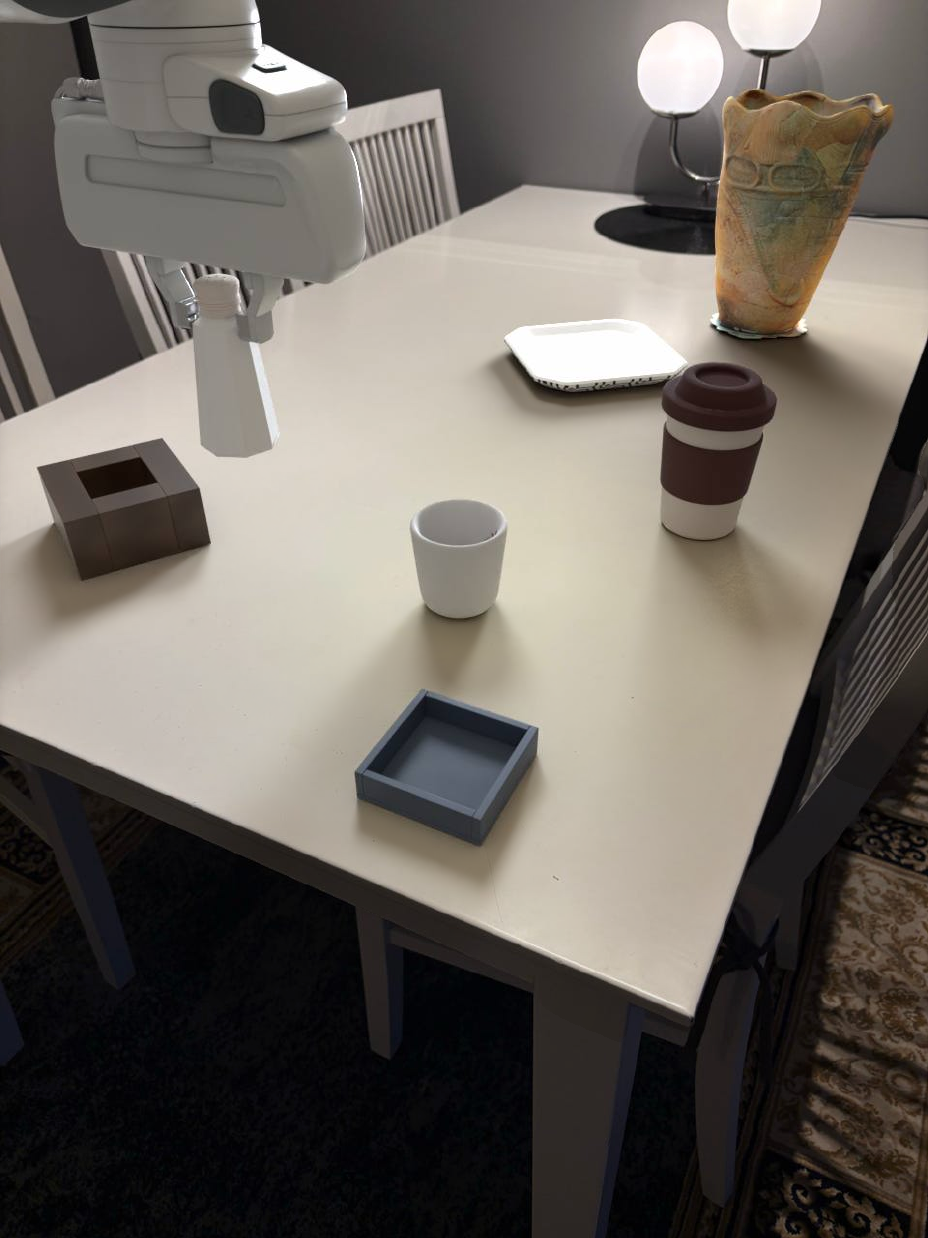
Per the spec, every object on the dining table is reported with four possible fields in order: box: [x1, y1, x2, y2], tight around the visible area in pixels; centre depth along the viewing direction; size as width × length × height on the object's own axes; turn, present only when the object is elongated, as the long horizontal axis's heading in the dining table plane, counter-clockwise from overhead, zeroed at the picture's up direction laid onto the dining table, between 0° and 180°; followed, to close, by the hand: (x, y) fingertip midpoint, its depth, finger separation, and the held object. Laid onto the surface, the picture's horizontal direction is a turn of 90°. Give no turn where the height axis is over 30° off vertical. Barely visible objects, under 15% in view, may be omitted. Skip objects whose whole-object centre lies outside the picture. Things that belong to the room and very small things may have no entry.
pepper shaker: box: [192, 273, 281, 459], centre depth 60 cm, size 5×5×11 cm
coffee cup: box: [659, 361, 778, 541], centre depth 84 cm, size 10×10×15 cm
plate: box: [503, 318, 688, 393], centre depth 121 cm, size 21×21×2 cm
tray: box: [354, 688, 540, 847], centre depth 62 cm, size 9×9×2 cm
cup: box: [409, 498, 509, 619], centre depth 77 cm, size 11×8×8 cm
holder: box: [36, 437, 212, 581], centre depth 86 cm, size 12×12×6 cm
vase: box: [709, 88, 895, 339], centre depth 124 cm, size 21×20×30 cm
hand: (224, 333), depth 58 cm, fingers closed on pepper shaker, 4 cm apart
